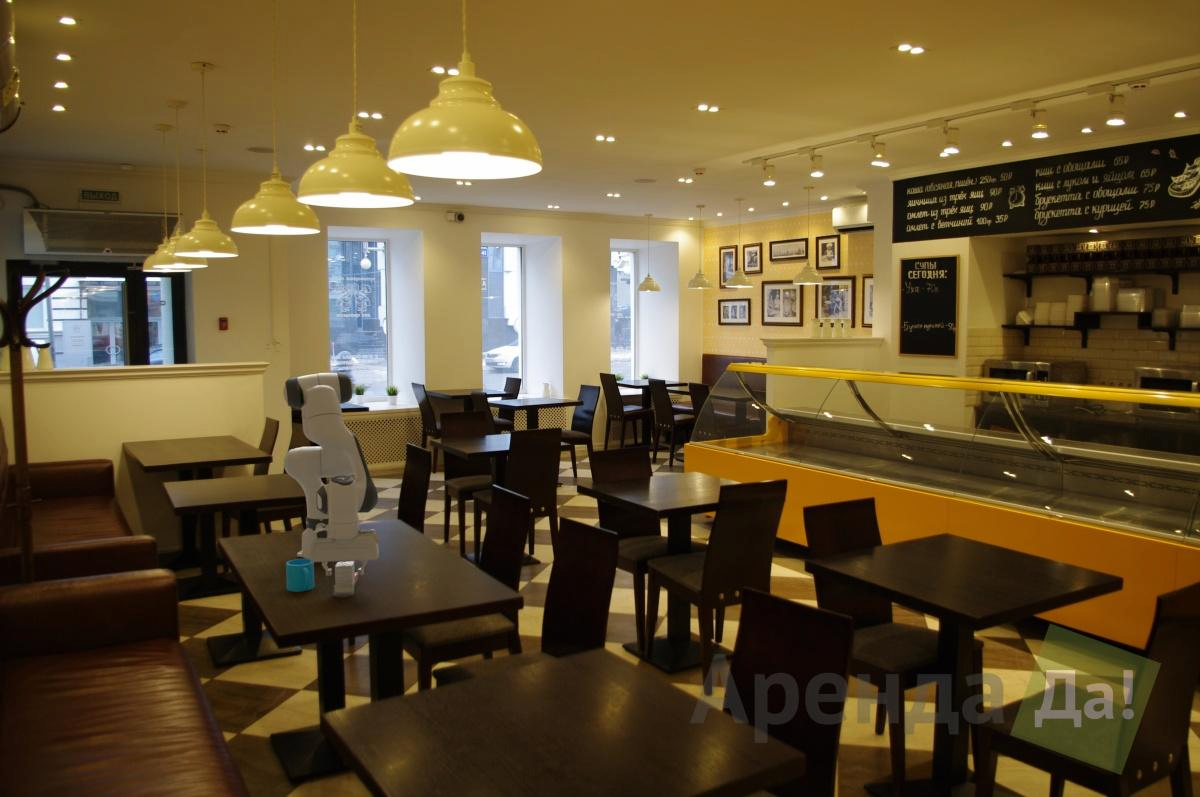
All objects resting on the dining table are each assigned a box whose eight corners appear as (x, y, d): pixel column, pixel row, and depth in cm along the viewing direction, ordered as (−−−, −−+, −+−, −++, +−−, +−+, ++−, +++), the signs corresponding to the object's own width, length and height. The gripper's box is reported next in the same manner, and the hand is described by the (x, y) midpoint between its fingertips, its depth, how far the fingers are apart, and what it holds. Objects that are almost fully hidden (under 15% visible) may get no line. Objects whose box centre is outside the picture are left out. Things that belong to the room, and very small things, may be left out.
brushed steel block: (338, 582, 274) (337, 561, 274) (354, 582, 275) (354, 561, 274) (335, 587, 269) (334, 566, 269) (352, 586, 270) (352, 565, 270)
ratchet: (343, 580, 287) (342, 560, 287) (362, 579, 288) (362, 560, 287) (332, 598, 269) (331, 576, 268) (352, 597, 269) (351, 576, 269)
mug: (283, 586, 280) (282, 561, 279) (309, 582, 285) (308, 557, 284) (295, 596, 270) (294, 570, 270) (322, 591, 275) (321, 565, 274)
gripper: (380, 526, 275) (381, 570, 276) (311, 528, 272) (312, 573, 273) (377, 531, 269) (378, 576, 270) (307, 533, 266) (308, 579, 267)
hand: (344, 574), depth 272 cm, fingers open, 8 cm apart
